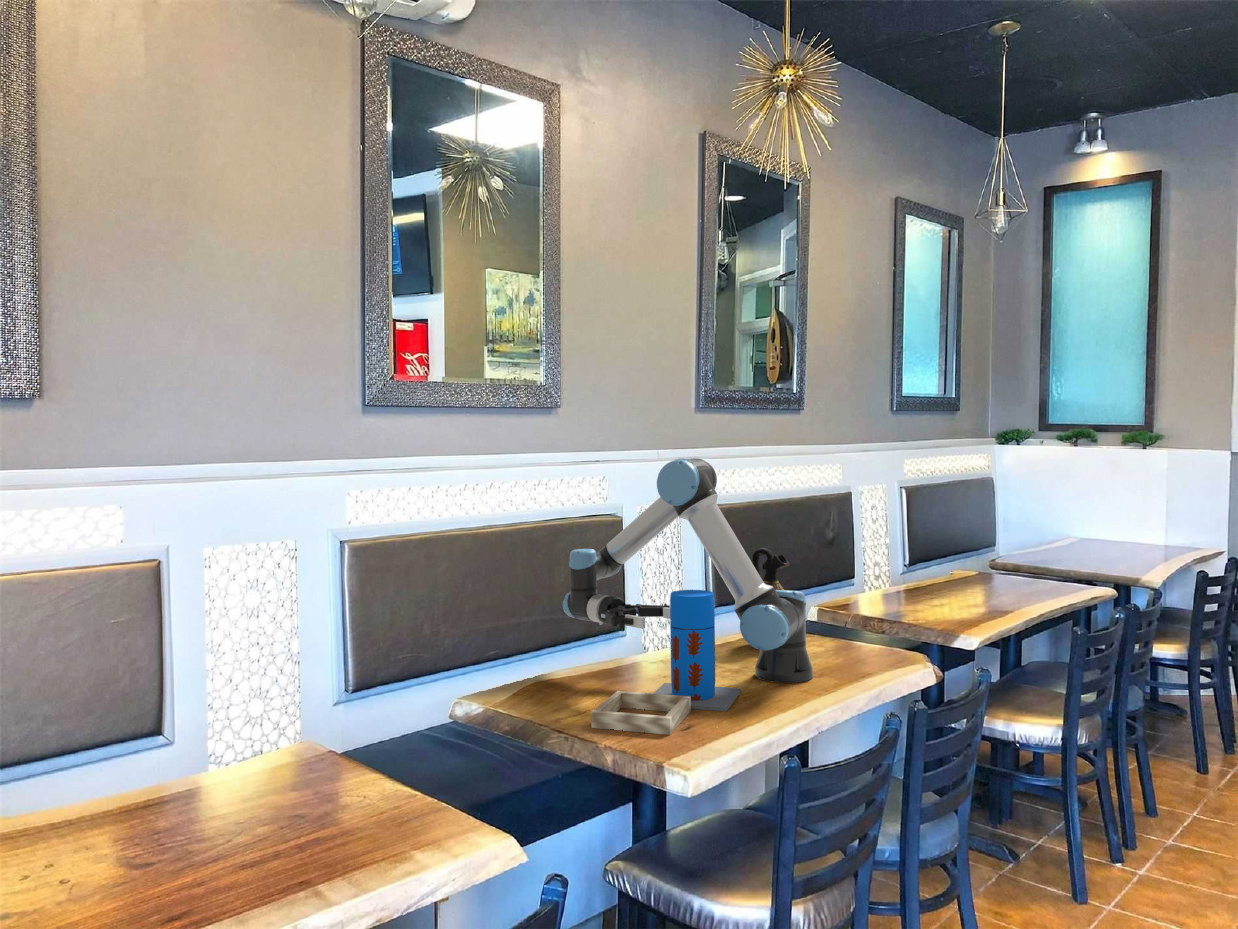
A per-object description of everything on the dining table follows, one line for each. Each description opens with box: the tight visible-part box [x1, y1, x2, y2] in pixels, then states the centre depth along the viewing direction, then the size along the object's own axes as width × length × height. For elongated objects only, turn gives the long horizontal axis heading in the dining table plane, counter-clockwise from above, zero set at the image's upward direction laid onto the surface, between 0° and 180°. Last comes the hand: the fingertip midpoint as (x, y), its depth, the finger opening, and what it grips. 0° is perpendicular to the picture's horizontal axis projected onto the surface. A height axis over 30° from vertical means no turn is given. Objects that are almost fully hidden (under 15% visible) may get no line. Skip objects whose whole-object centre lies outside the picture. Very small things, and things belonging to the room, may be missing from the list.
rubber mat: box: [652, 682, 742, 712], centre depth 225 cm, size 20×18×1 cm
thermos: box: [669, 589, 716, 701], centre depth 225 cm, size 11×11×25 cm
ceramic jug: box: [751, 547, 790, 590], centre depth 281 cm, size 17×15×30 cm
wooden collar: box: [590, 690, 692, 736], centre depth 208 cm, size 18×18×4 cm
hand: (663, 619), depth 232 cm, fingers open, 13 cm apart
